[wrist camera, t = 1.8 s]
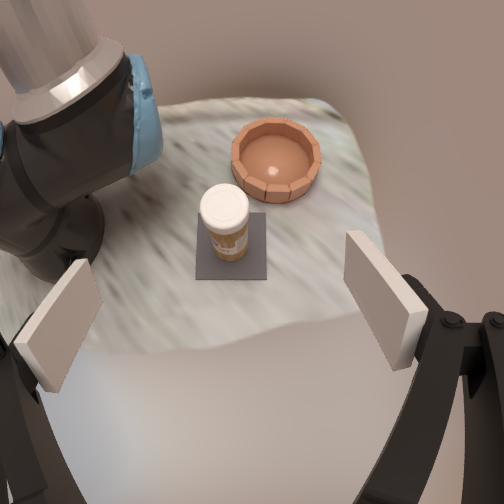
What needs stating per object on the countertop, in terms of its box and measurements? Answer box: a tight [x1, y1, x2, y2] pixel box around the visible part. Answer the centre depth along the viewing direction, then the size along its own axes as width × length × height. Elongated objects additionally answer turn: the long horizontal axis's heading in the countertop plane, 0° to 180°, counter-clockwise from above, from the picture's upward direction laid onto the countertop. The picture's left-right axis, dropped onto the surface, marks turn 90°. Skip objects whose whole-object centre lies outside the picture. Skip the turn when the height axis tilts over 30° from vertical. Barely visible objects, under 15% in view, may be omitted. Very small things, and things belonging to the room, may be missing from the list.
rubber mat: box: [196, 213, 266, 280], centre depth 41 cm, size 9×9×1 cm
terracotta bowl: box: [231, 118, 322, 203], centre depth 43 cm, size 12×12×4 cm
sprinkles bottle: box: [199, 184, 249, 261], centre depth 34 cm, size 5×5×14 cm
